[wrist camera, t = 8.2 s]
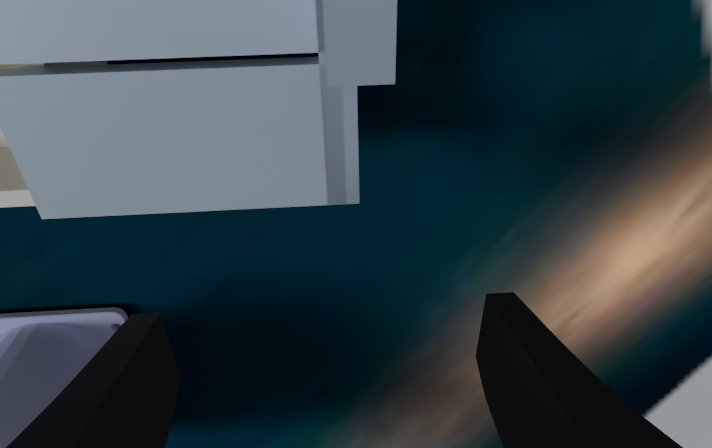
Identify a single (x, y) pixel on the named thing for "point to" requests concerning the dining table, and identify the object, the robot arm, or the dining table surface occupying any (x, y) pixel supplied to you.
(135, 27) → the lid
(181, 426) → the dining table surface
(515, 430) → the robot arm
